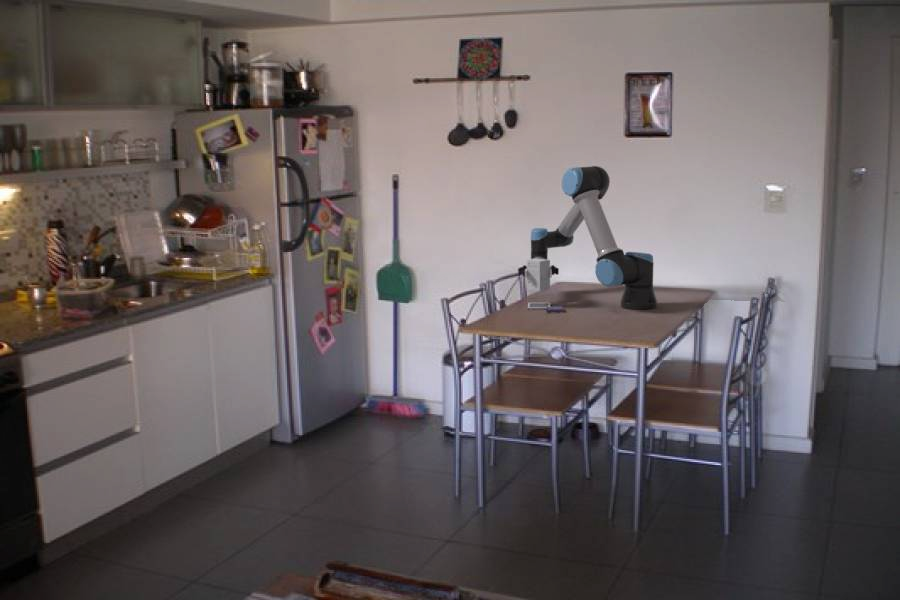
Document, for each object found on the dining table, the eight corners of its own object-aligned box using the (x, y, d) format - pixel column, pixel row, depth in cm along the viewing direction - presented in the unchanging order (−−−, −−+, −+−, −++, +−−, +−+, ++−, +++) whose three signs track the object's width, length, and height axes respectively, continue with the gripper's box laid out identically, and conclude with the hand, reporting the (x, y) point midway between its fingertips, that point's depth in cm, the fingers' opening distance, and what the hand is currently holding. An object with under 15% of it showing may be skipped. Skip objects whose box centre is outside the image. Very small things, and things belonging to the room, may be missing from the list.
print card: (550, 304, 424) (550, 302, 424) (550, 309, 413) (550, 307, 413) (528, 304, 425) (528, 302, 425) (527, 309, 414) (527, 307, 414)
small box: (550, 289, 417) (550, 259, 415) (539, 291, 413) (539, 261, 411) (537, 287, 423) (536, 257, 421) (526, 289, 419) (526, 259, 417)
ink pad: (563, 309, 412) (563, 306, 412) (563, 312, 405) (563, 309, 405) (546, 309, 413) (546, 306, 413) (546, 312, 406) (546, 309, 406)
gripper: (564, 274, 434) (564, 283, 412) (513, 274, 436) (511, 283, 414) (564, 257, 432) (565, 265, 410) (513, 258, 435) (511, 265, 413)
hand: (538, 274), depth 412 cm, fingers closed on small box, 10 cm apart
